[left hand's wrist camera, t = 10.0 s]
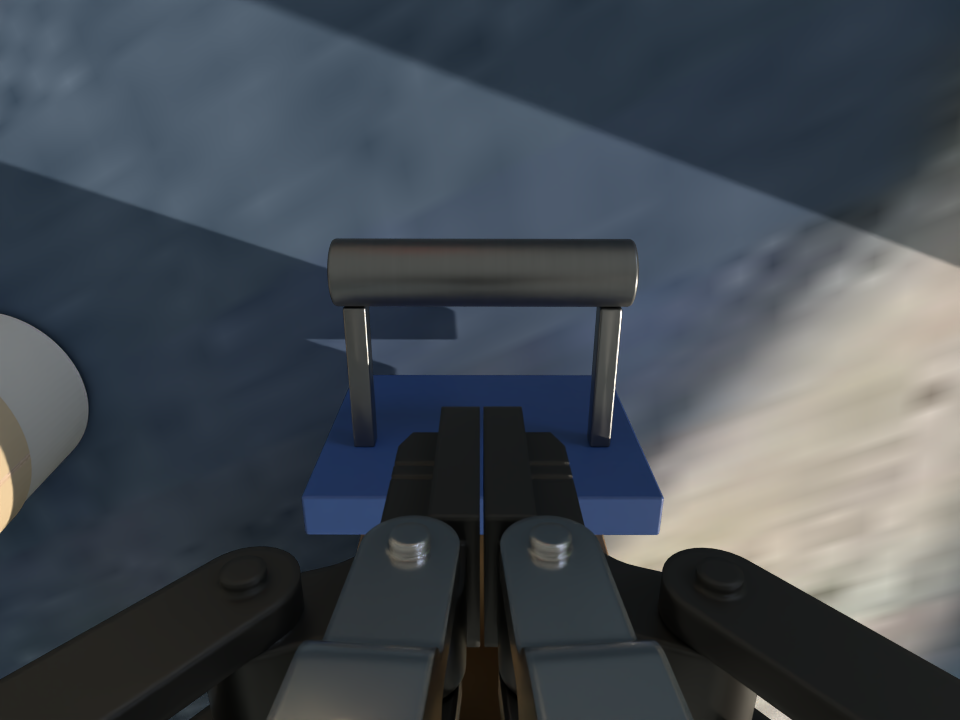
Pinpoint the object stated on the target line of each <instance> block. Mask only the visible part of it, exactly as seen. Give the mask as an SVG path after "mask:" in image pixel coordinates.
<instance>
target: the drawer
mask: <svg viewBox="0 0 960 720" xmlns="http://www.w3.org/2000/svg"><path fill="white" fill-rule="evenodd" d="M327 275H328V286H329V292H330V296H331V299H332V302H333V303H334V305H336V306H344V308H343V317H344V329H345V341H346V353H347V365H348V377H349V389H348V391H347V393H346V396H345V398H344V400H343V403H342V405H341V407H340V409H339V412H338V414H337V416H336V419H335V421H334V423H333V426H332V428H331V430H330V433H329V435H328V437H327V440H326V442H325V444H324V446H323V449H322V451H321V453H320V456H319V458H318V460H317V463H316V465H315V467H314V470H313V472H312V474H311V477H310V479H309V481H308V483H307V486H306V488H305V490H304V493H303V495H302V498H301V500H302V508H303V516H304V524H305V531H306V534H359V535H361V537H360V541H359V544H358V547H359V545H360V542H361V540H362V539H363V537H364V536H365V535H366V533H367V532H368V531H369V530H371V529H372V528H373V527H375V526H376V525H378V524H380V522H381V518H382V514H383V509H384V505H385V501H386V497H387V492H388V488H389V484H390V480H391V475H392V471H393V467H394V466H395V458H396V454H397V450H398V446H399V445H400V444H401V443H402V442H403V441H404V440H405V439H406V438H407V437H409V436H410V435H411V434H412V433H413V432H438V431H439V423H440V415H441V407H480V647H466V670H465V674H464V677H463V679H462V698H461V706H460V714H459V720H501V714H500V706H499V698H498V671H499V664H498V647H484V544H483V406H522V411H523V419H524V426H525V432H551V433H552V434H553V435H554V436H555V437H556V438H557V439H558V440H559V441H560V442H561V443H562V444H563V445H565V448H566V452H567V456H568V460H569V465H570V468H571V472H572V479H573V480H574V484H575V488H576V492H577V497H578V501H579V505H580V509H581V513H582V517H583V521H584V525H585V527H587V528H588V529H589V530H591V531H592V532H593V533H594V535H595V536H596V537H597V539H598V540H599V542H600V545H601V547H602V550H603V552H604V553H605V554H607V555H608V551H607V548H606V544H605V540H604V537H603V535H657V534H659V531H660V523H661V516H662V508H663V501H664V498H663V495H662V493H661V491H660V489H659V486H658V484H657V482H656V480H655V477H654V475H653V473H652V471H651V468H650V466H649V464H648V462H647V460H646V457H645V455H644V453H643V451H642V448H641V446H640V444H639V442H638V439H637V437H636V435H635V433H634V430H633V428H632V426H631V424H630V421H629V419H628V417H627V415H626V413H625V410H624V408H623V406H622V404H621V401H620V399H619V397H618V395H617V392H616V390H615V386H616V375H617V364H618V353H619V342H620V331H621V320H622V308H621V307H628V306H631V305H632V303H633V301H634V299H635V296H636V292H637V286H638V276H639V262H638V253H637V248H636V245H635V243H634V241H633V240H631V239H334V240H332V242H331V245H330V248H329V252H328V263H327ZM369 306H494V307H597V311H596V324H595V338H594V351H593V365H592V375H373V363H372V348H371V333H370V318H369ZM357 550H358V548H357ZM356 553H357V552H356Z"/></svg>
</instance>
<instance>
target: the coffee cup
mask: <svg viewBox="0 0 960 720" xmlns="http://www.w3.org/2000/svg"><path fill="white" fill-rule="evenodd" d="M88 413H89V407H88V398H87V393H86V389H85V386H84V383H83V381H82V378H81V376H80V374H79V372H78V370H77V369H76V367H75V365H74V364H73V362H72V361H71V360H70V358H69V357H68V356H67V354H66V353H65V352H64V351H63V350H62V349H61V348H60V347H59V346H58V345H57V344H56V343H55V342H54V341H53V340H52V339H51V338H49V337H48V336H47V335H45V334H44V333H42V332H41V331H40V330H38V329H36V328H35V327H33V326H31V325H29V324H27V323H25V322H23V321H21V320H19V319H16V318H13V317H10V316H7V315H4V314H0V533H1V532H2V531H3V529H4V528H5V527H6V526H7V525H8V524H9V523H10V522H11V521H12V519H13V518H14V517H15V516H16V515H17V514H18V512H19V511H20V509H21V508H22V506H23V504H24V502H25V501H26V500H27V499H28V498H29V497H30V496H31V495H32V493H33V492H34V491H35V490H36V489H37V488H38V487H39V486H40V485H41V484H42V483H43V482H44V481H45V480H46V478H47V477H48V476H49V475H50V474H51V473H52V472H53V471H54V470H55V469H56V468H57V467H58V466H59V465H60V464H61V462H62V461H63V460H64V459H65V458H66V457H67V456H68V455H69V454H70V453H71V452H72V451H73V450H74V448H75V447H76V446H77V445H78V443H79V442H80V440H81V438H82V436H83V434H84V432H85V429H86V426H87V422H88Z"/></svg>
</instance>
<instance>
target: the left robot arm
mask: <svg viewBox="0 0 960 720" xmlns="http://www.w3.org/2000/svg"><path fill="white" fill-rule="evenodd" d="M483 544H484V647H498V664H499V671H498V698H499V706H500V714H501V720H770V719H769V718H768V717H766V716H765V715H764V714H762V713H761V712H760V711H758V710H757V709H756V708H754V707H755V702H756V697H757V695H758V696H760V697H761V698H763V699H764V700H765V701H767V702H768V703H770V704H771V705H772V706H774V707H775V708H776V709H778V710H779V711H781V712H782V713H783V714H785V715H786V716H788V717H789V718H790V719H792V720H960V679H958V678H956V677H954V676H953V675H951V674H949V673H947V672H946V671H944V670H942V669H940V668H938V667H937V666H935V665H933V664H931V663H930V662H928V661H926V660H924V659H922V658H921V657H919V656H917V655H915V654H914V653H912V652H910V651H908V650H907V649H905V648H903V647H901V646H899V645H898V644H896V643H894V642H892V641H891V640H889V639H887V638H885V637H883V636H882V635H880V634H878V633H876V632H875V631H873V630H871V629H869V628H867V627H866V626H864V625H862V624H860V623H859V622H857V621H855V620H853V619H851V618H850V617H848V616H846V615H844V614H843V613H841V612H839V611H837V610H835V609H834V608H832V607H830V606H828V605H827V604H825V603H823V602H821V601H819V600H818V599H816V598H814V597H812V596H811V595H809V594H807V593H805V592H803V591H802V590H800V589H798V588H796V587H795V586H793V585H791V584H789V583H787V582H786V581H784V580H782V579H780V578H779V577H777V576H775V575H773V574H771V573H770V572H768V571H766V570H764V569H763V568H761V567H759V566H757V565H755V564H754V563H752V562H750V561H748V560H746V559H744V558H742V557H740V556H738V555H735V554H733V553H730V552H726V551H723V550H718V549H712V548H692V549H686V550H683V551H679V552H677V553H675V554H673V555H672V556H671V557H670V558H668V560H667V561H666V562H665V564H664V566H663V570H662V572H660V571H655V570H651V569H646V568H642V567H637V566H634V565H630V564H626V563H624V562H621V561H618V560H616V559H614V558H612V557H610V556H609V555H607V554H605V553H604V552H603V550H602V547H601V545H600V542H599V540H598V539H597V537H596V536H595V535H594V533H593V532H592V531H591V530H589V529H588V528H587V527H585V525H584V521H583V517H582V513H581V509H580V505H579V501H578V497H577V492H576V488H575V484H574V480H573V479H572V472H571V468H570V465H569V460H568V456H567V452H566V448H565V445H563V444H562V443H561V442H560V441H559V440H558V439H557V438H556V437H555V436H554V435H553V434H552V433H551V432H525V426H524V419H523V411H522V406H483ZM466 647H480V407H441V415H440V423H439V431H438V432H413V433H412V434H411V435H410V436H409V437H407V438H406V439H405V440H404V441H403V442H402V443H401V444H400V445H399V446H398V450H397V454H396V458H395V466H394V467H393V471H392V475H391V480H390V484H389V488H388V492H387V497H386V501H385V505H384V509H383V514H382V518H381V522H380V524H378V525H376V526H375V527H373V528H372V529H371V530H369V531H368V532H367V533H366V535H365V536H364V537H363V539H362V540H361V542H360V545H359V547H358V550H357V553H356V555H355V557H353V558H351V559H349V560H347V561H344V562H342V563H339V564H336V565H332V566H328V567H324V568H320V569H315V570H311V571H306V572H302V573H300V567H299V564H298V562H297V560H296V559H295V558H294V557H293V556H292V555H291V554H290V553H288V552H286V551H284V550H281V549H278V548H273V547H262V546H258V547H248V548H242V549H238V550H235V551H231V552H229V553H226V554H223V555H221V556H219V557H217V558H215V559H213V560H212V561H210V562H208V563H206V564H205V565H203V566H201V567H199V568H197V569H196V570H194V571H192V572H190V573H189V574H187V575H185V576H183V577H181V578H180V579H178V580H176V581H174V582H173V583H171V584H169V585H167V586H165V587H164V588H162V589H160V590H158V591H157V592H155V593H153V594H151V595H149V596H148V597H146V598H144V599H142V600H141V601H139V602H137V603H135V604H133V605H132V606H130V607H128V608H126V609H125V610H123V611H121V612H119V613H117V614H116V615H114V616H112V617H110V618H109V619H107V620H105V621H103V622H101V623H100V624H98V625H96V626H94V627H93V628H91V629H89V630H87V631H85V632H84V633H82V634H80V635H78V636H77V637H75V638H73V639H71V640H70V641H68V642H66V643H64V644H62V645H61V646H59V647H57V648H55V649H54V650H52V651H50V652H48V653H46V654H45V655H43V656H41V657H39V658H38V659H36V660H34V661H32V662H30V663H29V664H27V665H25V666H23V667H22V668H20V669H18V670H16V671H14V672H13V673H11V674H9V675H7V676H6V677H4V678H2V679H0V720H168V719H170V718H171V717H172V716H174V715H175V714H177V713H178V712H179V711H181V710H182V709H184V708H185V707H186V706H188V705H189V704H191V703H192V702H193V701H195V700H196V699H197V698H199V697H200V696H202V695H203V694H204V693H206V692H208V697H209V702H210V705H209V706H207V707H206V708H204V709H203V710H202V711H200V712H199V713H198V714H196V715H195V716H194V717H192V718H191V719H190V720H459V714H460V706H461V698H462V679H463V677H464V674H465V670H466Z"/></svg>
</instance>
